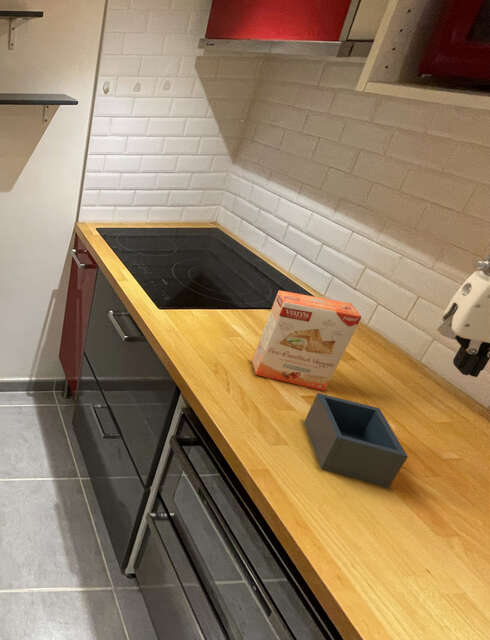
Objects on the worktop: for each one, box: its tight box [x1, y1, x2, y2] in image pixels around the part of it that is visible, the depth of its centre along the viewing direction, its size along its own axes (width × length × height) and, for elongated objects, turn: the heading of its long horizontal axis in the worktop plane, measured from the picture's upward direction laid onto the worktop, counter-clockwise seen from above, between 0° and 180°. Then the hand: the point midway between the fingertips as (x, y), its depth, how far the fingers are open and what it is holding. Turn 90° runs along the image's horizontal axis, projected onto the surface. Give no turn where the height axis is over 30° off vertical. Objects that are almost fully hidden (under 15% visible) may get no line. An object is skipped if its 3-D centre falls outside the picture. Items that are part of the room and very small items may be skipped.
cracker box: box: [251, 290, 362, 392], centre depth 101 cm, size 14×6×21 cm, turn 68°
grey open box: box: [303, 392, 409, 489], centre depth 84 cm, size 8×12×10 cm
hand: (464, 370), depth 73 cm, fingers closed
